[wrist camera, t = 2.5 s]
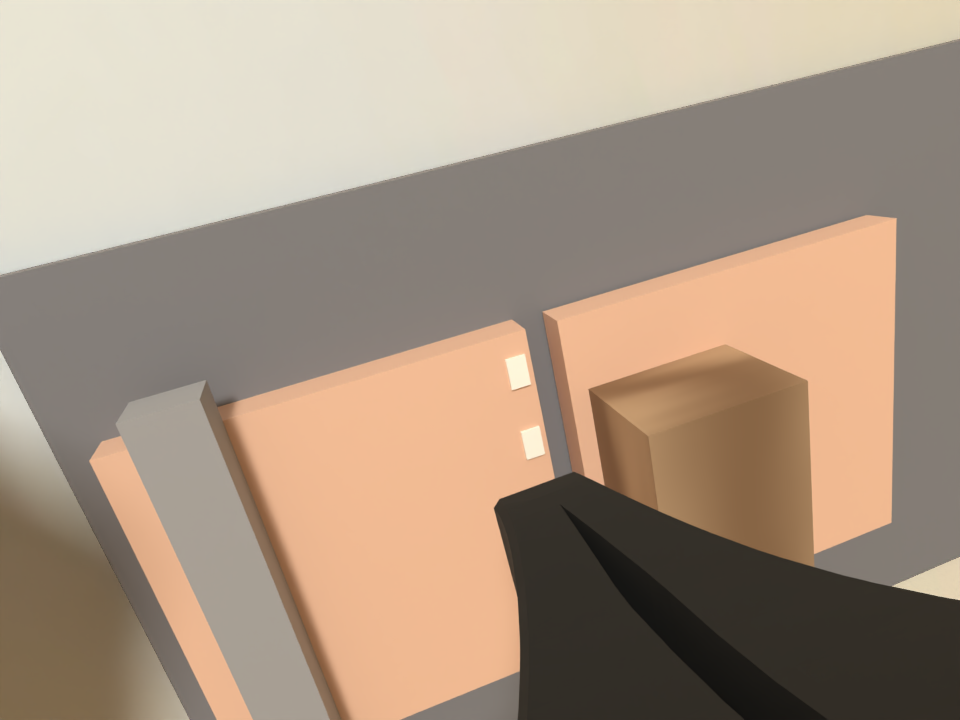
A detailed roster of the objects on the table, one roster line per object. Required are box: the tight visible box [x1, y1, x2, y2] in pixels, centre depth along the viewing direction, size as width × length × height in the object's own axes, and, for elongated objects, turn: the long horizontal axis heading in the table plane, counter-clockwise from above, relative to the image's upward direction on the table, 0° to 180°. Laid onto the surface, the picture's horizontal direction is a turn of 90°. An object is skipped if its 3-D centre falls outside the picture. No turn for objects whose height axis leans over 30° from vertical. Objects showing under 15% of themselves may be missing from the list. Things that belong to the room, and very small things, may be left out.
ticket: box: [89, 320, 555, 720], centre depth 17 cm, size 10×12×2 cm
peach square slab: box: [542, 215, 897, 567], centre depth 18 cm, size 10×10×4 cm
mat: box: [0, 39, 960, 720], centre depth 19 cm, size 30×18×1 cm, turn 102°
